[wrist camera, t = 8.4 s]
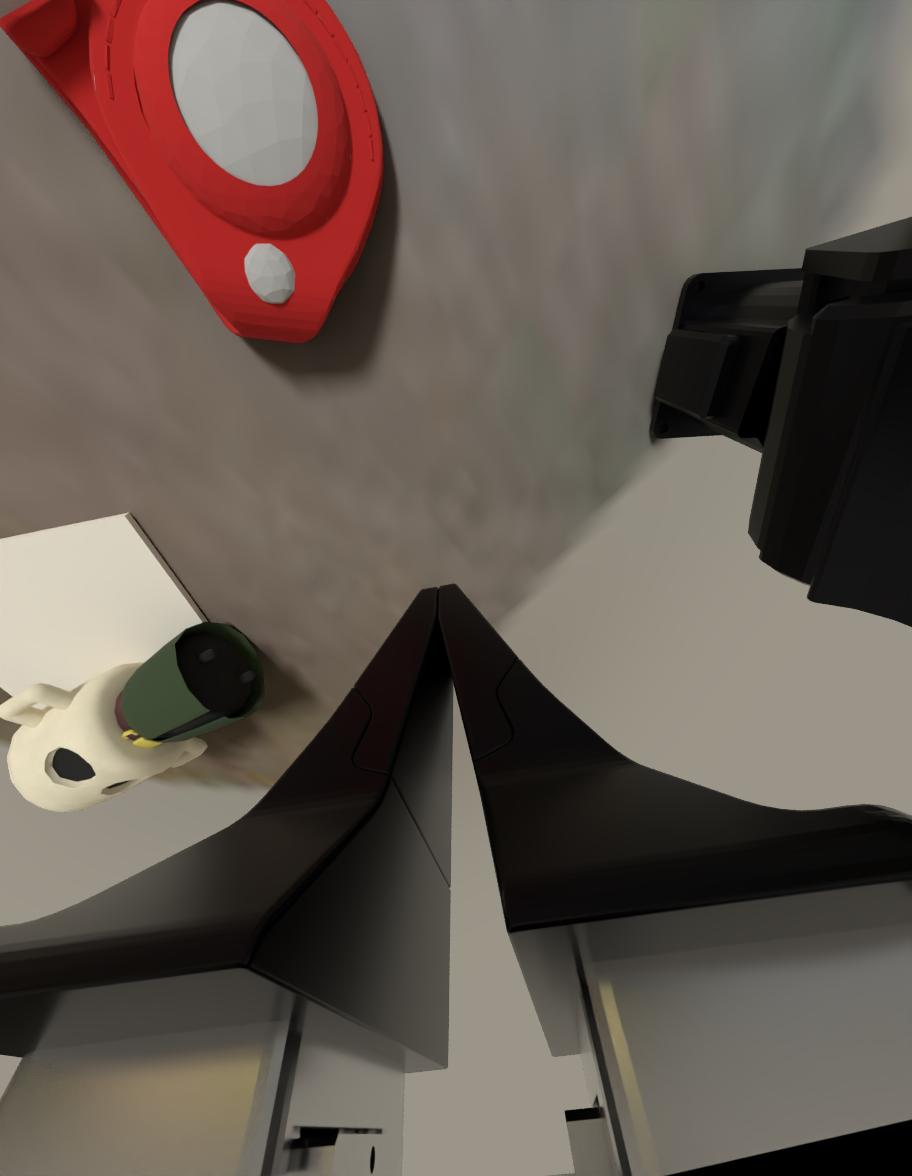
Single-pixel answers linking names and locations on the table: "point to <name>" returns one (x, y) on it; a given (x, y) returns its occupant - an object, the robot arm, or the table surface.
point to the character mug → (130, 719)
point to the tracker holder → (227, 139)
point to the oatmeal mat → (84, 603)
